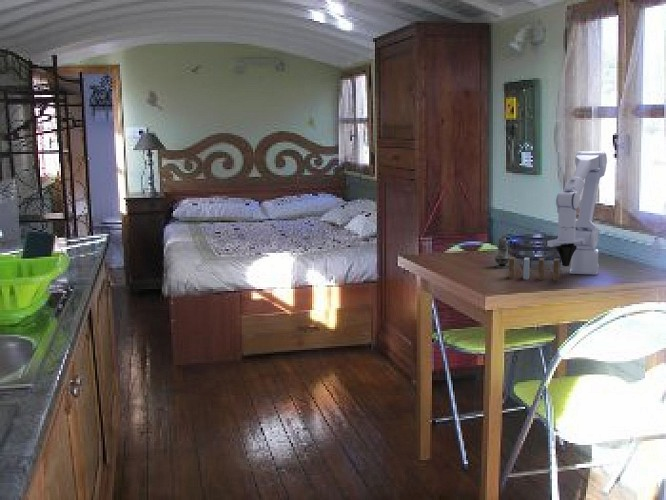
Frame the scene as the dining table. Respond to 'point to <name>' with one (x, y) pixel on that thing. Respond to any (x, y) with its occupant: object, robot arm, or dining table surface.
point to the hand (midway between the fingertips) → (565, 265)
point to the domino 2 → (526, 268)
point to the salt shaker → (502, 254)
